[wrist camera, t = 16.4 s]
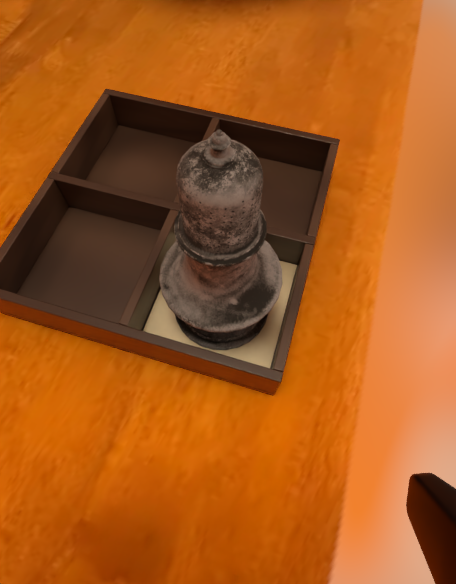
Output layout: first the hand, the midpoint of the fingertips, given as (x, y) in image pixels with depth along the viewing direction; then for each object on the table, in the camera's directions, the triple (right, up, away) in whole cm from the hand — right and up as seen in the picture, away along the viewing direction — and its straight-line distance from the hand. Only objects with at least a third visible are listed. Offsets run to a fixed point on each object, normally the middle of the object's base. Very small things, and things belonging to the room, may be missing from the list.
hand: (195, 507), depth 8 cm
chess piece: (0, +4, +14) cm, 15 cm away
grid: (-2, +8, +17) cm, 19 cm away
